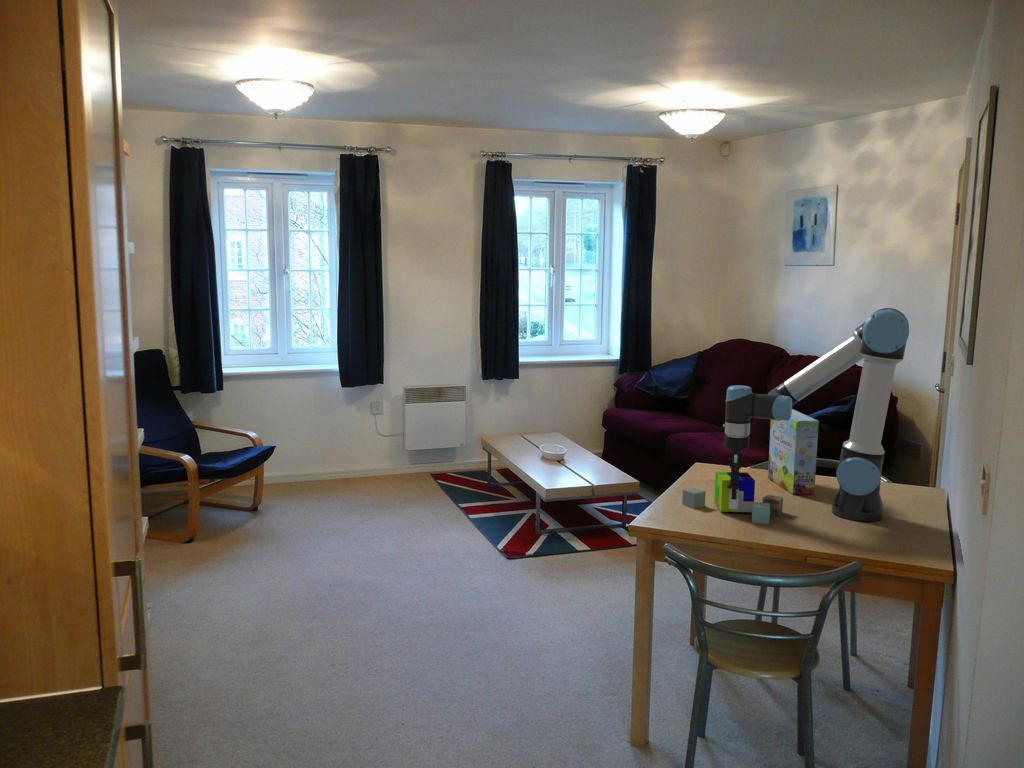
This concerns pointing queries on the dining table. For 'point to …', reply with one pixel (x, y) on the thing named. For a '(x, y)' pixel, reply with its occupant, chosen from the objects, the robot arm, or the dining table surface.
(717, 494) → the puzzle toy
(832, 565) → the dining table surface
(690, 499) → the slate grey cube
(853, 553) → the dining table surface
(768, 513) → the dusty teal cube
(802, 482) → the snack box
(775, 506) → the walnut cube
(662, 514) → the dining table surface
